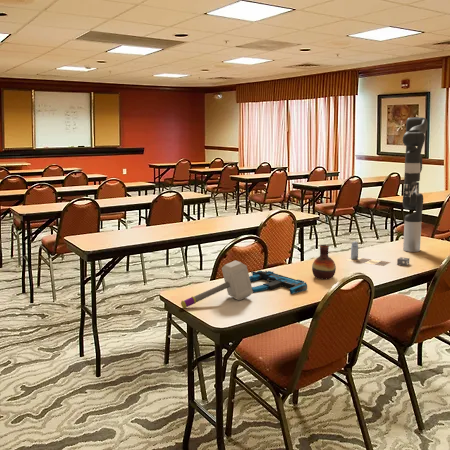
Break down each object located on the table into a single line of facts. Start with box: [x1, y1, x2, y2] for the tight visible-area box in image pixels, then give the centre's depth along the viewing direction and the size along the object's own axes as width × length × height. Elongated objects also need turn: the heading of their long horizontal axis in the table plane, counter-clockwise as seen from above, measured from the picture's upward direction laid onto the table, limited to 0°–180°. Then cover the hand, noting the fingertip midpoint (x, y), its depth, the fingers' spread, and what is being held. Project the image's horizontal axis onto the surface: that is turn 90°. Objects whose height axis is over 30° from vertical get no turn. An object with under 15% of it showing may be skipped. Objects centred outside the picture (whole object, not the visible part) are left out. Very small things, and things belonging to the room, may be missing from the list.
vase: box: [311, 244, 337, 281], centre depth 254 cm, size 11×11×15 cm
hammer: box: [180, 260, 254, 309], centre depth 219 cm, size 15×8×30 cm
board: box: [347, 257, 391, 267], centre depth 280 cm, size 10×21×1 cm, turn 51°
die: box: [396, 256, 410, 267], centre depth 272 cm, size 5×5×5 cm
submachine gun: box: [249, 270, 308, 295], centre depth 243 cm, size 34×4×25 cm
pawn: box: [350, 240, 359, 261], centre depth 283 cm, size 4×4×10 cm
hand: (410, 203), depth 275 cm, fingers open, 8 cm apart
